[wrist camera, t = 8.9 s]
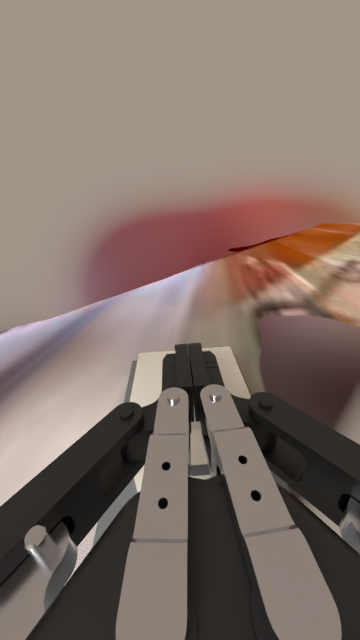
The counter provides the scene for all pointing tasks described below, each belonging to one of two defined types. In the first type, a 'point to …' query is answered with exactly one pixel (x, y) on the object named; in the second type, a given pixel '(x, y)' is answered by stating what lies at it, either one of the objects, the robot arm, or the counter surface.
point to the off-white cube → (150, 388)
